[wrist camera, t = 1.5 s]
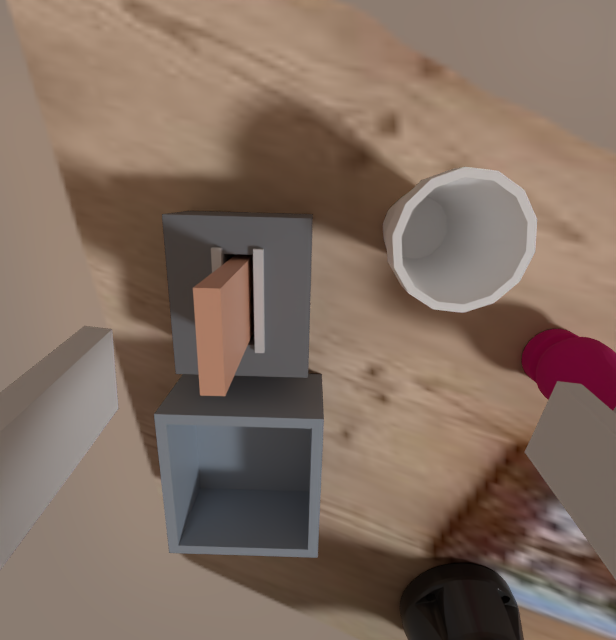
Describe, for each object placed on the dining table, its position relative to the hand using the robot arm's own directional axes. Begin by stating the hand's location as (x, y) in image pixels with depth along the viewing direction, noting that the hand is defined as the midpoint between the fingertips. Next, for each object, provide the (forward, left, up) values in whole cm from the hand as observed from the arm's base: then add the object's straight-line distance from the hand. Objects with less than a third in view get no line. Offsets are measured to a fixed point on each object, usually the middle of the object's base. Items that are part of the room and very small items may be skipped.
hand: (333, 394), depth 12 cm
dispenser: (-3, +7, -28) cm, 29 cm away
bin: (-21, +7, -28) cm, 36 cm away
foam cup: (+3, -9, -29) cm, 30 cm away
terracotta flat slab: (-3, +7, -26) cm, 28 cm away
